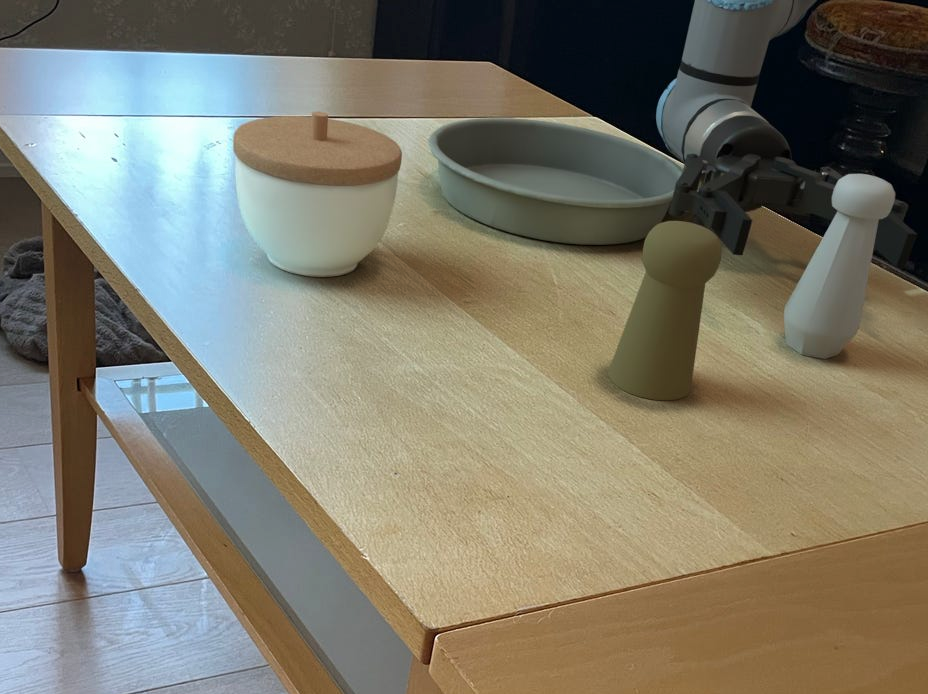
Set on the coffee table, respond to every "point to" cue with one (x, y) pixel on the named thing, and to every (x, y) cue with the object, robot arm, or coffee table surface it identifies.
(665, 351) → the olive pawn figure
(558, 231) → the cake pan
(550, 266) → the coffee table surface
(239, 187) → the lidded bowl
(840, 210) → the salt shaker
